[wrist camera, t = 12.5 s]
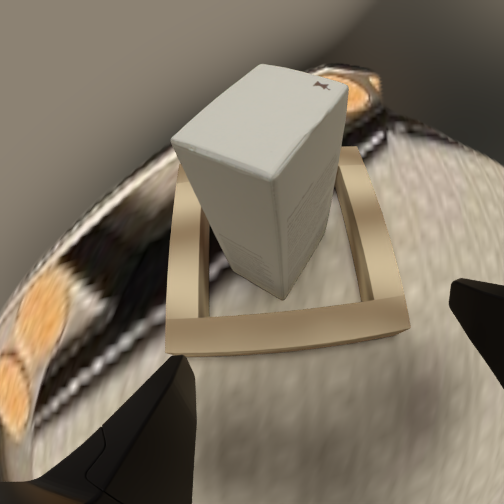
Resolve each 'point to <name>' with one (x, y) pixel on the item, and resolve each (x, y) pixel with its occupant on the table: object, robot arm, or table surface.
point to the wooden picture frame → (288, 322)
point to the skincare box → (267, 169)
